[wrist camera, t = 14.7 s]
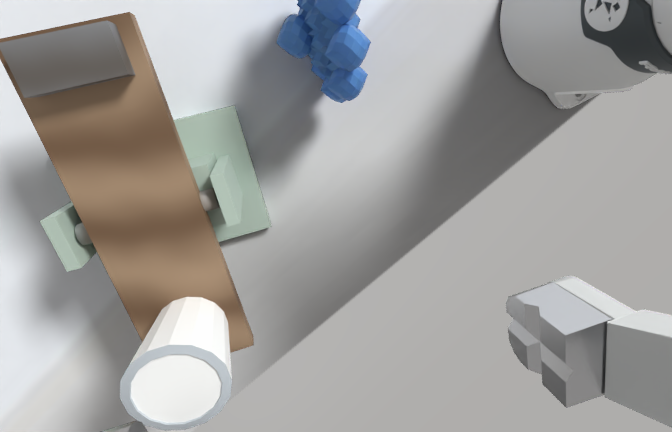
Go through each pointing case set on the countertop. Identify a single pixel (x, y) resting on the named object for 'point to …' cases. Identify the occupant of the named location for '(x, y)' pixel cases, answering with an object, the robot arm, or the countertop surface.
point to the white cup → (180, 367)
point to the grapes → (329, 44)
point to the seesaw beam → (124, 166)
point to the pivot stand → (209, 171)
